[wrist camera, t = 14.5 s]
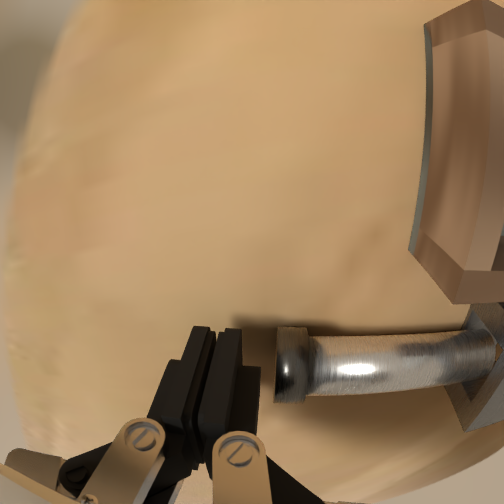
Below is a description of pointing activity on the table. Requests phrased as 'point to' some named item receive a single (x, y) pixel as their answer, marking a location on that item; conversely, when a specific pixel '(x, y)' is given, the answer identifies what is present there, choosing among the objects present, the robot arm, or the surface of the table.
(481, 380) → the pin mount
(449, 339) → the lock pin
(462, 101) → the brown wooden open box
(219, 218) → the table surface
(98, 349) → the table surface
